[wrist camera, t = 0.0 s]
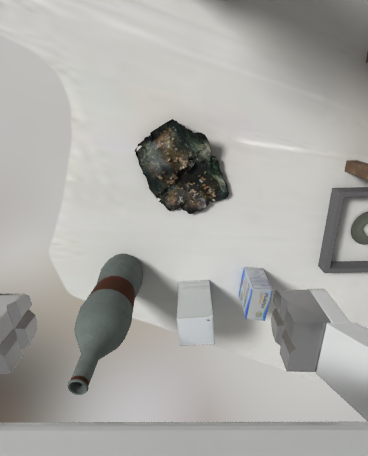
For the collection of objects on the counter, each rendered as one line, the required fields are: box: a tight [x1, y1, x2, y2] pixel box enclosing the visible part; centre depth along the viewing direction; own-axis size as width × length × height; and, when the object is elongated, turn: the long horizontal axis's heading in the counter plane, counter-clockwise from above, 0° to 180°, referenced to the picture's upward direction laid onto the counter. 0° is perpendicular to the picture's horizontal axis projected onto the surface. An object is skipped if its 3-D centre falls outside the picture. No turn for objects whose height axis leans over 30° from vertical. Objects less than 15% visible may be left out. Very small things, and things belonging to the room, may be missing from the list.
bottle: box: [68, 254, 143, 395], centre depth 51 cm, size 9×9×30 cm
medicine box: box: [239, 267, 273, 321], centre depth 61 cm, size 8×4×9 cm, turn 175°
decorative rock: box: [135, 119, 229, 214], centre depth 54 cm, size 19×6×15 cm
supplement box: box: [177, 280, 215, 346], centre depth 61 cm, size 7×7×13 cm
